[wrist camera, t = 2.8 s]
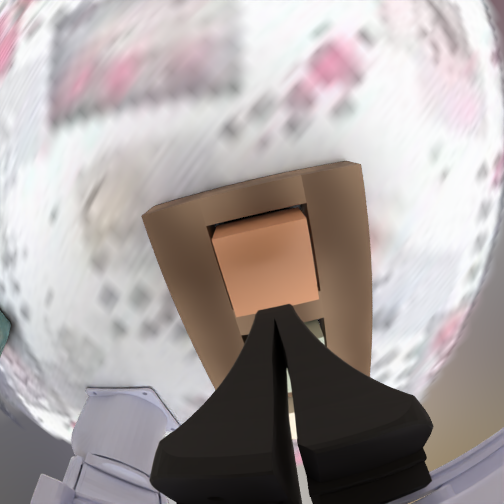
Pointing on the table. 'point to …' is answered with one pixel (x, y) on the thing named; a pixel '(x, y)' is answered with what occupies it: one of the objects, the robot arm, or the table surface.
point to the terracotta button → (266, 261)
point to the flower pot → (3, 331)
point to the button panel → (323, 249)
